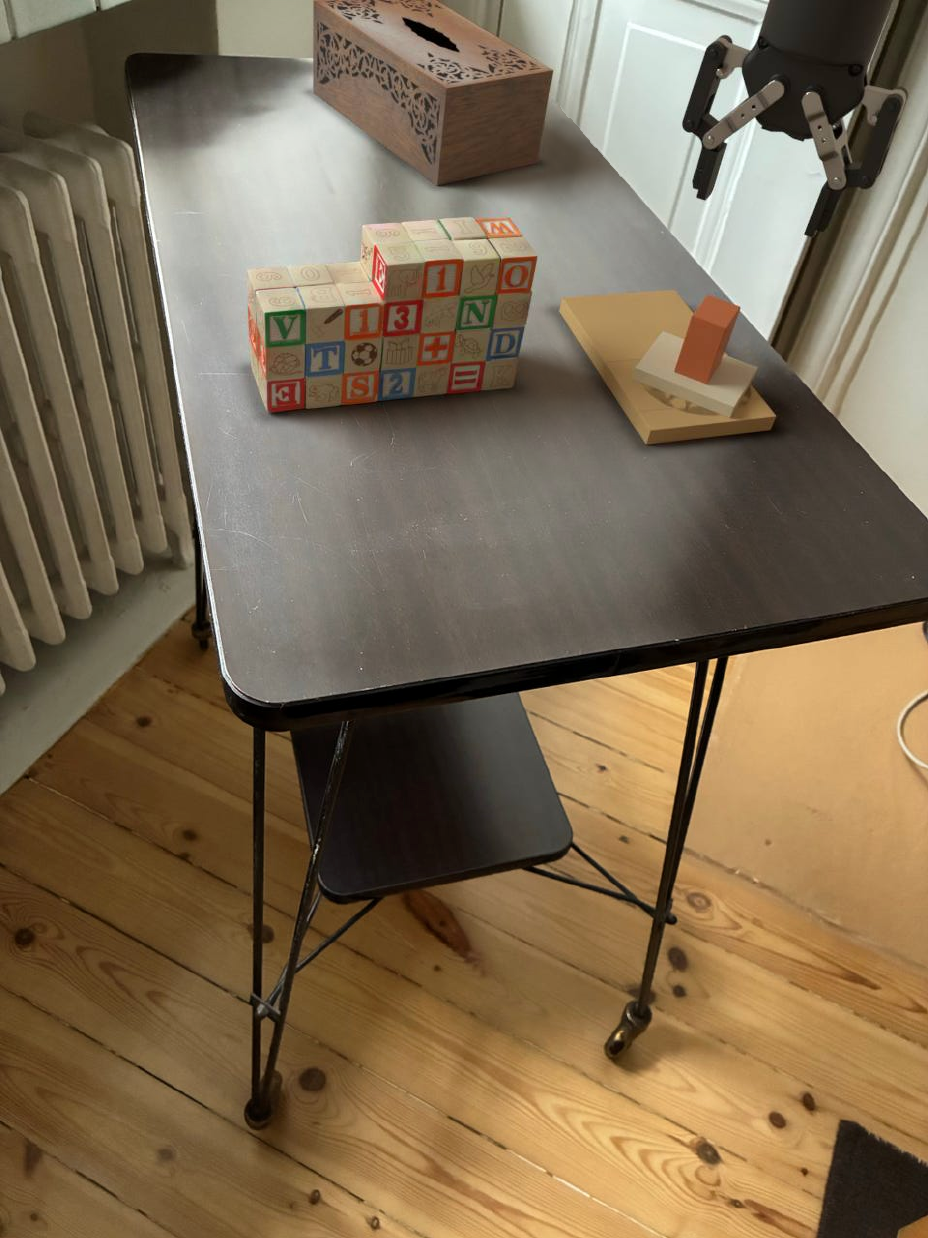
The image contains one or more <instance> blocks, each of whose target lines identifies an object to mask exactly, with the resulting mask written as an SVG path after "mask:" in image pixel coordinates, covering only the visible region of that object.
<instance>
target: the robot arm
mask: <svg viewBox="0 0 928 1238" xmlns="http://www.w3.org/2000/svg"><path fill="white" fill-rule="evenodd" d="M894 1H895V0H768V4H767V5H766V6H767V7H766V10H765V12H764V16H763V20H762V23H761V26H760V30H759V32H758V37H757V39H756V41H755V43H754V45H753V47H752V48H751V49H748V48H745V47H742V46H740V45H737V44H734V42H733V39H732V38H731V36H730V35H728V34H722V35H720V36H718V37H717V38H716V39H715V40H713V42H711V43H710V44H708V46H707V47H706V49H705V51H704V54H703V57H702V60H701V63H700V67H699V69H698V72H697V75H696V78H695V82H694V85H693V88H692V91H691V94H690V97H689V100H688V103H687V106H686V109H685V112H684V115H683V118H682V122H681V127H682V129H683V131H685V132H686V133H690V134H693V135H694V136H695V137H697V138H698V139H699V141H700V144H701V149H700V152H699V156H698V160H697V163H696V166H695V170H694V173H693V177H692V189H694V190H697V192H696V194H695V195H696V196H695V197H696V199H698V200H701V201H703V202H706V201H707V200H708V198H709V197H711V195H713V192H714V189H715V186H716V183H717V180H718V176H719V173H720V170H721V166H722V163H723V159H724V157H725V153H726V150H727V146H728V142H725V141H726V140H727V139H728V138H730V137H731V136H732V135H733V134H735V133H737V132H738V131H740V130H741V129H742V128H743V127H744V126H746V125H747V124H749V123H750V122H751V121H752V120H753V119H755V120H756V122H757V123H758V124H759V125H760V129H761V130H764V131H768V132H770V133H784V134H785V135H787V136H788V137H789V138H791V139H793V140H796V141H799V142H802V143H803V142H805V140H813V144H814V147H815V151H816V154H817V157H818V159H819V161H821V163H822V166H823V169H824V173H825V177H826V181H824V182H825V183H824V184H823V185H822V186H821V189H820V191H819V194H818V197H817V199H816V202H815V205H814V207H813V210H812V212H811V215H810V218H809V220H808V222H807V226H806V228H805V231H804V233H803V235H804V236H805V237H809V238H812V239H813V238H815V236H816V235H817V233H818V232H821V233H824V232H825V231H826V230H827V228H829V226H830V225H831V223H832V222H833V220H834V217H835V215H836V212H837V210H838V207H839V205H840V203H841V201H842V198H843V195H844V192H845V191H846V190H847V189H850V188H859V189H862V190H868V189H871V188H872V187H873V186H874V184H875V183H876V181H877V178H878V177H879V176H880V174H881V173H882V171H883V168H884V165H885V163H886V161H887V160H886V159H887V157H888V154H889V151H890V148H891V146H892V143H893V140H894V137H895V135H896V132H897V129H898V126H899V124H900V120H901V118H902V115H903V113H904V109H905V108H906V104H907V102H908V98H909V92H908V90H907V89H906V88H905V87H903V86H896V87H894V88H893V89H892V90H891V89H887V88H883V87H879V86H873V85H870V84H868V83H869V82H868V70H869V66H870V63H871V60H872V58H873V55H874V53H875V50H876V48H877V45H878V42H879V40H880V37H881V35H882V32H883V29H884V27H885V24H886V22H887V19H888V16H889V14H890V11H891V8H892V6H893V3H894ZM736 68H740V69H741V75H742V78H743V82H744V85H745V89H746V93H747V98H745V99H744V100H743V101H741V102H740V103H739V104H738V105H736V107H734V109H732V110H730V111H729V113H727V114H726V115H725V116H723V117H722V118H721V119H720V120H718V118H716V117H715V116H713V115H712V114H711V110H712V107H713V105H714V101H715V99H716V96H717V93H718V89H719V87H720V83H721V81H722V80H725V79H727V78H728V77H730V76H731V75H732V74H733V73H734V71H735V69H736ZM860 104H861V105H863V106H864V107H865V108H866V112H867V113H866V121H867V123H868V125H870V126H872V127H874V128H873V129H872V130H873V131H872V133H871V135H870V139H869V141H868V145H867V148H866V151H865V153H864V155H863V156H864V157H863V159H862V161H861V162H853V159H852V155H851V151H850V148H849V144H848V141H849V139H848V138H849V137H848V133H847V128H846V126H845V122H844V117H845V116H847V115H849V114H850V113H851V112H852V111H854V110H855V109H856V108H858V107H859V106H860Z"/></svg>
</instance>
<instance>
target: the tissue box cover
mask: <svg viewBox="0 0 928 1238" xmlns="http://www.w3.org/2000/svg"><path fill="white" fill-rule="evenodd" d="M312 2H313V4H312V5H313V8H312V9H313V10H312V12H313V13H312V14H313V16H312V17H313V19H312V20H313V21H312V23H313V24H312V25H313V26H312V28H313V29H312V32H313V35H312V37H313V39H312V40H313V41H312V43H313V44H312V47H313V48H312V52H313V53H312V59H313V60H312V66H313V67H312V93H313V94H314V95H315V96H317V97H318V98H319V99H320V100H322V101H324V102H325V103H326V104H327V105H328V106H330V107H332V108H333V109H334V110H336V111H337V112H338V113H340V114H341V115H342V116H343V117H345V118H346V119H347V120H349V121H350V122H351V123H353V124H354V125H355V126H357V127H358V128H359V129H361V130H362V131H363V132H365V133H366V134H367V135H369V136H370V137H372V138H373V139H374V140H375V141H377V142H378V143H380V144H381V145H382V146H384V147H385V148H386V149H387V150H389V151H390V152H391V153H393V154H394V155H395V156H397V157H398V158H399V159H401V160H402V161H404V162H405V163H406V164H407V165H409V166H410V167H411V168H413V169H414V170H415V171H417V172H418V173H419V174H421V175H422V176H423V177H424V178H426V179H427V180H429V181H430V182H431V183H433V184H434V185H435V186H440V185H445V184H449V183H455V182H459V181H463V180H468V179H472V178H477V177H481V176H485V175H490V174H494V173H499V172H503V171H508V170H512V169H516V168H521V167H525V166H529V165H534V164H538V162H539V156H540V150H541V145H542V141H543V133H544V129H545V128H544V127H545V122H546V116H547V111H548V110H547V109H548V106H549V105H548V104H549V99H550V92H551V88H552V87H551V86H552V81H553V77H554V76H553V75H554V69H552V68H551V67H549V66H547V65H545V64H544V63H542V62H541V61H539V60H537V59H536V58H535V57H532V56H530V55H529V54H527V53H526V52H523V51H522V50H521V49H518V48H517V47H516V46H514V45H512V44H511V43H509V42H507V41H505V40H504V39H502V38H500V37H499V36H497V35H496V34H494V33H492V32H491V31H489V30H487V29H485V28H484V27H482V26H481V25H479V24H477V23H476V22H474V21H472V20H471V19H469V18H467V17H466V16H463V15H462V14H460V13H459V12H457V11H455V10H454V9H452V8H450V7H449V6H448V5H445V4H443V3H442V2H440V1H439V0H313V1H312Z"/></svg>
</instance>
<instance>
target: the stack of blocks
mask: <svg viewBox="0 0 928 1238" xmlns="http://www.w3.org/2000/svg"><path fill="white" fill-rule="evenodd" d="M361 229H362V232H361V246H360V259H359V261H346V262H334V263H311V264H298V265H286V266H273V267H271V266H270V267H259V268H256V267H255V268H247V269H246V285H247V286H246V288H247V304H248V305H247V320H248V336H249V348H250V351H249V352H250V365H251V371H252V374H253V376H254V379H255V383H256V385H257V388H258V392H259V394H260V398H261V401H262V403H263V406H264V408H265V410H266V412H267V413H275V412H285V411H293V410H300V409H301V410H302V409H307V410H310V409H319V408H328V407H329V408H331V407H337V406H340V405H341V406H347V405H355V404H356V405H357V404H366V403H367V404H368V403H376V402H378V401H379V402H380V401H390V400H399V399H408V398H416V397H425V396H426V397H427V396H435V395H436V396H437V395H444V394H448V395H449V394H450V395H451V394H460V393H462V394H463V393H470V392H472V393H473V392H479V391H493V390H502V389H511V388H514V386H515V381H516V375H517V369H518V364H519V358H520V357H519V356H520V352H521V348H522V342H523V338H524V333H525V327H526V325H527V321H528V317H529V312H530V307H531V303H532V295H533V291H532V287H533V283H534V278H535V273H536V268H537V262H538V254H537V253H536V251H535V250H534V249H533V247H532V246H531V244H530V243H529V241H528V240H527V238H526V237H525V236H523V234H522V232H521V231H520V229H519V228H518V227H517V226H516V224H515V223H514V221H513V220H512V219H511V218H510V217H507V216H505V217H485V218H474V217H473V216H463V217H449V218H448V217H446V218H439V219H438V220H436V219H427V220H412V221H402V222H387V223H369V224H368V223H367V224H363V225H362V228H361Z"/></svg>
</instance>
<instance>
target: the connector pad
mask: <svg viewBox="0 0 928 1238" xmlns="http://www.w3.org/2000/svg"><path fill="white" fill-rule="evenodd" d="M740 312H741V306H740V305H737V304H734V303H732V302H729V301H726V300H723V299H721V298H718V297H716V296H713V295H710V294H707V295H706V296H705V297H704V298H703V300H702V302H701V303H700V304H699V305H698V307H697V308H696V309H695V310H694V312H693V313H694V314H693V315H692V317H691V320H690V323H689V327H688V330H687V333H686V336H685V339H682V338H680V337H677V336H675V335H672V334H669V333H667V332H664V331H663V332H662V333H661V335H660V336H659V337H658V338H657V340H656V341H655V342H654V344H653V345H652V346H651V348H650V349H649V350H648V351H647V353H646V354H645V355H644V357H643V358H642V359H641V360H640V362H639V363H638V364H637V366H636V367H635V369H634V373H633V376H632V379H633V380H635V381H638V382H640V383H643V384H645V385H648V386H650V387H653V388H655V389H658V390H660V391H663V392H665V393H668V394H670V395H673V396H675V397H678V398H680V399H683V400H685V401H688V402H690V403H693V404H695V405H698V406H700V407H703V408H705V409H708V410H710V411H713V412H715V413H718V414H720V415H723V416H725V417H728V418H730V417H731V415H732V414H733V412H734V410H735V409H736V407H737V406H738V404H739V402H740V401H741V399H742V397H743V396H744V394H745V392H746V391H747V389H748V387H749V386H750V384H751V385H752V383H753V381H754V379H755V377H756V374H757V371H758V369H759V367H758V366H756V365H753V364H750V363H747V362H745V361H742V360H739V359H738V358H734V357H732V356H730V355H728V354H727V355H728V356H727V355H724V352H725V353H726V350H727V347H728V344H729V341H730V339H731V336H732V333H733V331H734V328H735V325H736V322H737V319H738V317H739V314H740Z"/></svg>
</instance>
